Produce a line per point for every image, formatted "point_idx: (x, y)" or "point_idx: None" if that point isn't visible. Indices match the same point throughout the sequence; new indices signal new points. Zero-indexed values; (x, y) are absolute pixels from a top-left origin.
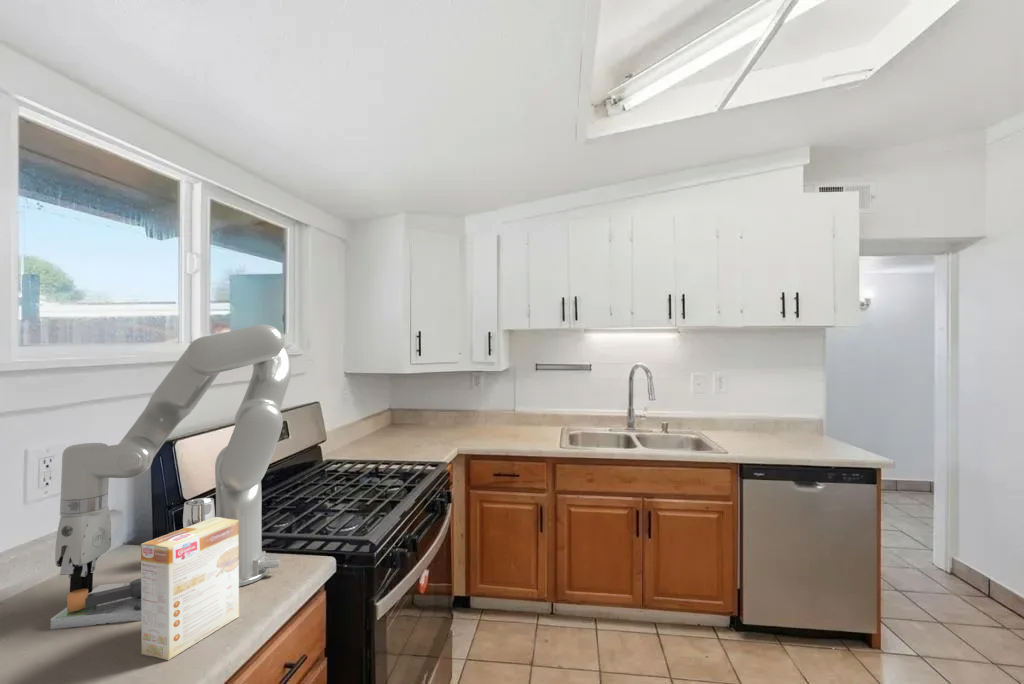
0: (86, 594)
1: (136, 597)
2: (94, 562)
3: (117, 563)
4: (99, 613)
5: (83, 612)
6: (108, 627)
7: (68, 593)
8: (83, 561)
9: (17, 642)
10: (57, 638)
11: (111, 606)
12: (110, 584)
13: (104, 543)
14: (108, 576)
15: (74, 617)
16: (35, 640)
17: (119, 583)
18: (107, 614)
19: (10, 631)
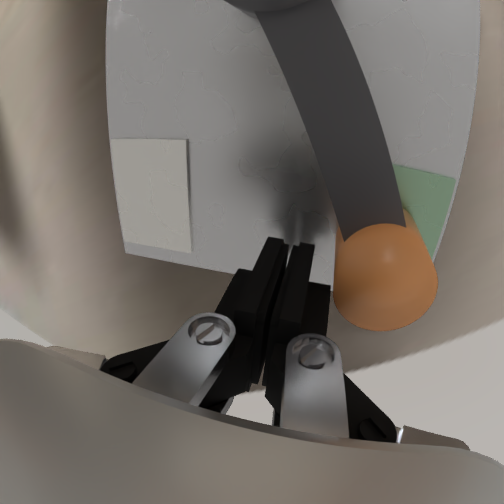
0: (404, 235)
1: None
2: (172, 363)
3: (3, 263)
4: (466, 115)
5: (431, 196)
6: (489, 64)
7: (375, 330)
8: (499, 488)
9: (450, 327)
10: (496, 227)
11: (399, 77)
12: (121, 205)
13: (15, 470)
14: (45, 256)
15: (446, 220)
16: (469, 288)
17: (114, 169)
18: (475, 76)
19: (357, 367)
